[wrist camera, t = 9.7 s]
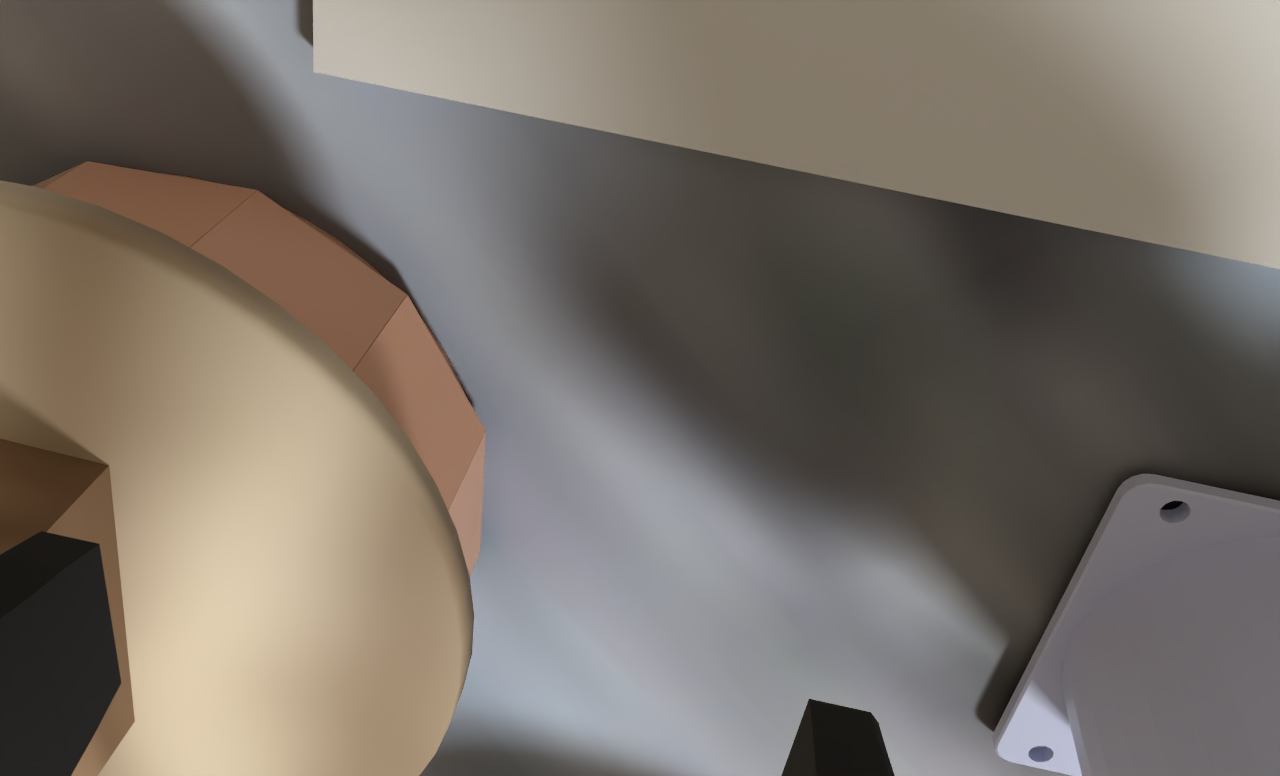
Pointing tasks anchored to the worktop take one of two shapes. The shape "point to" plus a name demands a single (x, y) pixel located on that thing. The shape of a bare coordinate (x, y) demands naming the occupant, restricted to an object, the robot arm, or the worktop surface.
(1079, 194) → the mat
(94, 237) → the lid
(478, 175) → the worktop surface
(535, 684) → the worktop surface
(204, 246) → the bowl
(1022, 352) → the worktop surface
